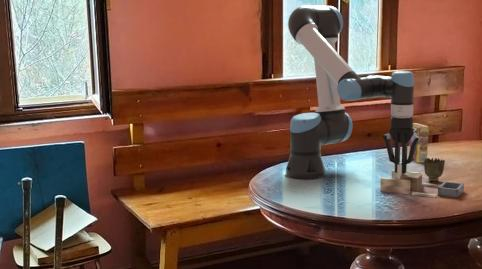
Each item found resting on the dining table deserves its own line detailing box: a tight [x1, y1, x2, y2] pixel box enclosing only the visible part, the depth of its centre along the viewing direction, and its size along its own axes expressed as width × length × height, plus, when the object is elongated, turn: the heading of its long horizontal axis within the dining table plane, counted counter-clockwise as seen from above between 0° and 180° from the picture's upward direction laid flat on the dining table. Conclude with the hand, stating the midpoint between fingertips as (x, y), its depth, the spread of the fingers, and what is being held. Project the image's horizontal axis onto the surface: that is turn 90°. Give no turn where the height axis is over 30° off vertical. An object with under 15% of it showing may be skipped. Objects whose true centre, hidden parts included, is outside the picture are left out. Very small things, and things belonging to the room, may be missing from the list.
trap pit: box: [437, 181, 465, 199], centre depth 213 cm, size 6×9×3 cm
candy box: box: [408, 122, 430, 164], centre depth 260 cm, size 9×4×15 cm, turn 13°
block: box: [400, 173, 423, 193], centre depth 219 cm, size 6×6×5 cm
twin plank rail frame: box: [379, 169, 441, 199], centre depth 219 cm, size 19×14×4 cm
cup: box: [423, 157, 446, 183], centre depth 228 cm, size 8×7×8 cm
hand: (400, 182), depth 221 cm, fingers closed
